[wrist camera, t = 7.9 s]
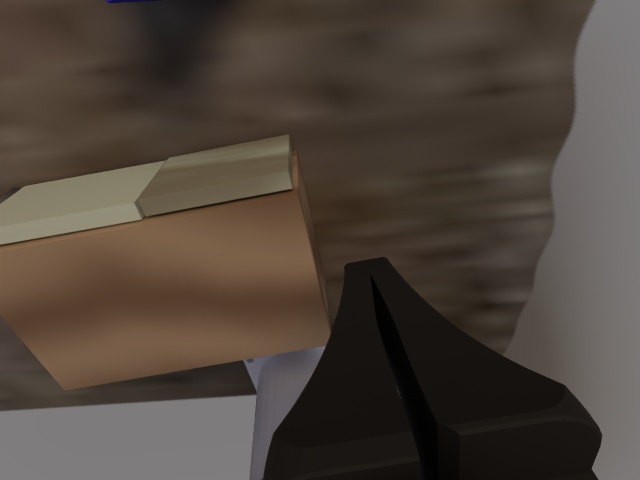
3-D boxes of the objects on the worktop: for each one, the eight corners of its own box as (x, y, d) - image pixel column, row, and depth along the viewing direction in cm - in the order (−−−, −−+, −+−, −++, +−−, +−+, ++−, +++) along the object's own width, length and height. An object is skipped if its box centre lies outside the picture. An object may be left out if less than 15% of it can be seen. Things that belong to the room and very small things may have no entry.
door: (172, 173, 21) (140, 222, 16) (16, 201, 21) (-57, 256, 16) (166, 159, 20) (132, 205, 16) (7, 188, 20) (-70, 241, 16)
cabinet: (325, 281, 25) (332, 344, 21) (104, 320, 26) (64, 390, 21) (292, 131, 20) (293, 172, 15) (15, 186, 21) (-64, 241, 16)
